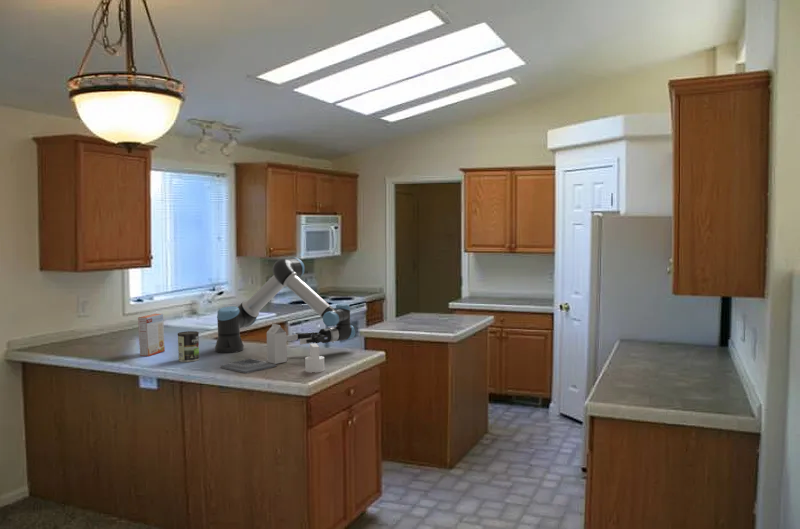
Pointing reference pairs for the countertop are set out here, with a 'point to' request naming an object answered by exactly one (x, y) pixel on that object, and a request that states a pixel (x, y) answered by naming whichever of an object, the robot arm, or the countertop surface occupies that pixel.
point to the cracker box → (151, 334)
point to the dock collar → (255, 361)
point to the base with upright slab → (314, 360)
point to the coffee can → (188, 346)
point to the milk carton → (276, 345)
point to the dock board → (248, 368)
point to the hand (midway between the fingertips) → (293, 340)
